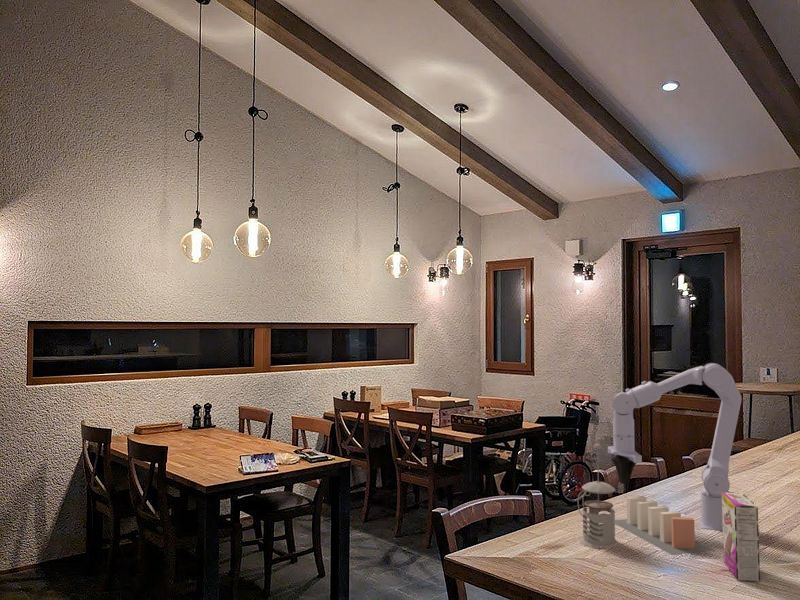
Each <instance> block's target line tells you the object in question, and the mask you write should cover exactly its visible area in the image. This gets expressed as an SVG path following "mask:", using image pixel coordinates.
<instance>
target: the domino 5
mask: <svg viewBox="0 0 800 600" xmlns="http://www.w3.org/2000/svg"><path fill="white" fill-rule="evenodd" d="M695 529H696V528H695V519H694V518H693V517H682V516H681V517H671V530H672V547H673V548H693V549H695V541H696V540H695V539H696V537H695V534H696V531H695Z"/></svg>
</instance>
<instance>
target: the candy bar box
mask: <svg viewBox="0 0 800 600" xmlns="http://www.w3.org/2000/svg"><path fill="white" fill-rule="evenodd" d="M722 521H723V530H722V542H723V543H722V544H723V546H722V547H723V563H724V564H725V565H726V567H727V568H728V570H729V571H730V572H731V574H732V575H733V577H734V578H735V580H737V581H738V582H739V581H740V582H748V583H749V582H750V583H753V582H754V583H761V570H760V569H761V567H760V563H761V562H760V561H761V560H760V535H759V532H760V530H759V506H757V505H756V504H755V503H754V502H753V501H752V500H751V499H750V498H749V497H747V496H746V495H745V494H744V493H743V492H742V493H741V492H730V493H728V492H724V493H722Z"/></svg>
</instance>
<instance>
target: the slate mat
mask: <svg viewBox="0 0 800 600" xmlns="http://www.w3.org/2000/svg"><path fill="white" fill-rule="evenodd" d="M614 522H615V526H616V525H617V526H619V527H620V528H622V529H624V530H626V531H627V532H630V533H631V534H633V535H635V536H637V537H639V538H640V539H643V540H644V541H645V542H648V543H649V544H650V545H651V544H652V545H653V546H655V547H657V548H659V549H660V550H662V551H664V552H665V553H668V554H670V555H672V556H674V555H675V556H676V555H684V554H693V553H694V554H695V553H705V552H714V551H716V549H714V548H711V547H709V546H707V545H705V544H703V543H702V542H699V541H698V540H695V549H693V548H673V547H672V542H662V541H660V535H659V536H651V535H649V534H648V530H639V529H638V528H637V524H632V525H630V524H628V523H627V518H624V519H615V521H614Z"/></svg>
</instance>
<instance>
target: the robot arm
mask: <svg viewBox="0 0 800 600" xmlns="http://www.w3.org/2000/svg"><path fill="white" fill-rule="evenodd" d="M702 382H704V384H705V386H707V387H708V388H710V389H711V390H713V391H714V392H715V394H717V395H718V397H719V399H720V401H721V402H720V404H719V405H720V406H719V410H718V411H719V412H718V416H717V421H716V426H715V431H714V436H713V441H712V446H711V450H710V455H709V458H708V461H707V463H706V466H705V468H703V470H702V472H701V475H700V476H701V480H702V482H703V488H702V489H701V490H700V501H701V503H700V504H701V505H700V506H701V508H700V511H701V515H700V516H701V518H699V519H698V523H699V525H700V527H701V529H702V530H712V531H723V521H722V493H724V492H728V493H731V492H730V491H729V490H730V480H729V471H730V469H729V468H730V466H729V465H730V458H731V454H732V449H733V444H734V439H735V435H736V429H737V425H738V420H739V414H740V410H741V409H740V408H741V404H742V394H741V392H740V391H739V388H738V387H737V384H736V382H735V380H734V378H733V376H732V374H731V373H729V371H728V370H727V369H726V368H724V367H723V366H721V365H720V364H718V363H715V362H710V363H709V362H708V363H706V364H705V365H704V366H703V365H699V366H696V367H693V368H689V369H687V370H685V371H682V372H679V373H678V374H675V375H673V376H670V377H669V378H666V379H664V380H662V381H660V382H657V383H656V382H654V381H652V380H650V381H647V380H644V381H641V384H640V385H637V386H635V387H632V388H629V387H627V388H626V389H625V392H621V391H620V392H619V393H617V394H615V396H614V397H613V399H612V404H611V405H612V408H613V418H612V426H613V427H612V428H613V429H612V431H613V432H612V435H613V439H612V440H613V445H609V446H607V453H608V454H611V455H615V457H611V461H612V463H613V464H614V466H615V469H616V472H617V476H618V481H619V483H620V484H622V485H627V484H629V483H630V481H631V476H632V473H633V470H634V468H635V466H636V464H637V463H639V464H641V463H642V462H643V459H642V458H643V457H642V455H641V454H640V453H638V452H637V451H636V450H635V449H636V448H635V447H636V446H635V444H636V442H635V440H636V439H635V419H634V409H640V408H642V407H646V406H648V405H651V404H653V403H656V402H658V401H660V399H661V397H662V395H663V394H665V393H668V392H670V391H674V390H676V389H678V388H682V387H685V386H687V385H698V386H703V383H702Z"/></svg>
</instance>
